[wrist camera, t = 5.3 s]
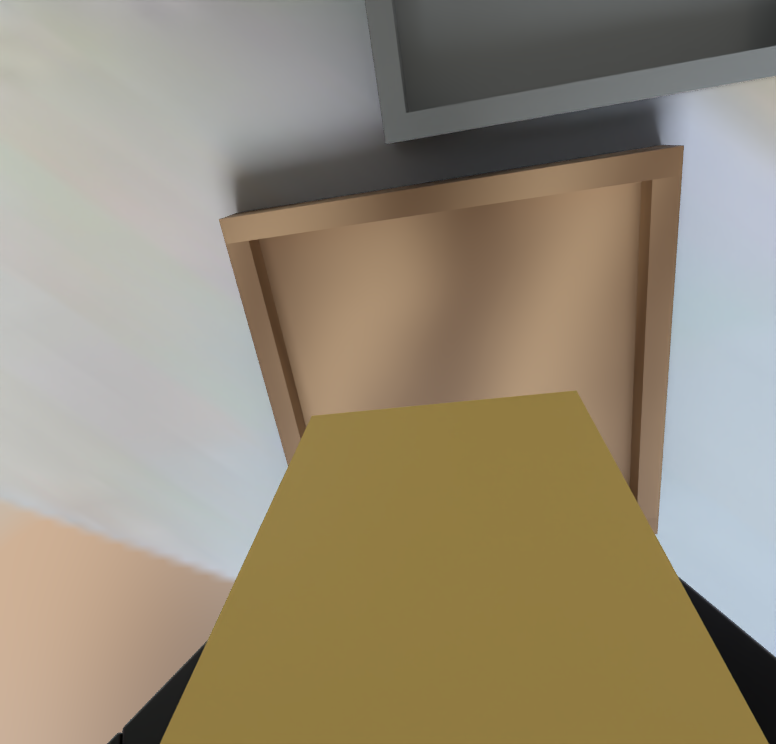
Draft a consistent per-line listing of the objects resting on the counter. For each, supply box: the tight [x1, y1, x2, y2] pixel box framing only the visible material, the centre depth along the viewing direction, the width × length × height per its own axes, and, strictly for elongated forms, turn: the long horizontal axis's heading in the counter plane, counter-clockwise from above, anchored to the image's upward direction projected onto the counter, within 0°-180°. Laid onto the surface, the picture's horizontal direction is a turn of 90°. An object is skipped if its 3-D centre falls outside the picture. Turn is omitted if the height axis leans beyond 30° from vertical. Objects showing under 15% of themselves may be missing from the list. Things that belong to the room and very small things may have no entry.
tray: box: [219, 145, 684, 534], centre depth 17 cm, size 12×12×1 cm
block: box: [160, 391, 769, 744], centre depth 7 cm, size 4×4×6 cm
